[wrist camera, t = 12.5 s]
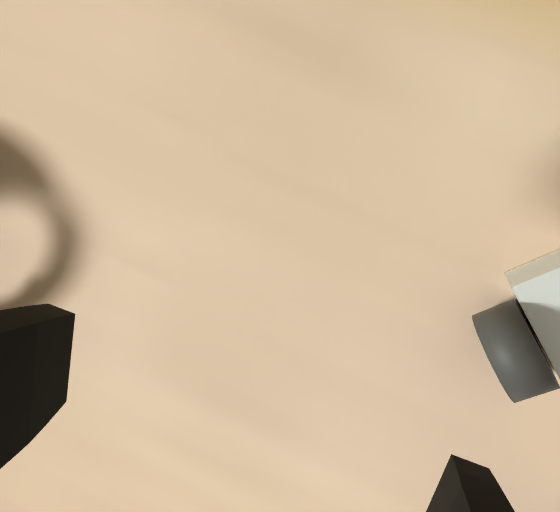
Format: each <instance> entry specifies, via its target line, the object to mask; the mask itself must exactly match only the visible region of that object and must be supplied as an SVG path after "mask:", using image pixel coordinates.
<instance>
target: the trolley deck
mask: <svg viewBox="0 0 560 512" xmlns="http://www.w3.org/2000/svg"><path fill="white" fill-rule="evenodd" d="M505 275H506V277H507V279H508V281H509V284H510V286H511V288H512V290H513V292H514V293H515V295H516V297H517V299H518V301H519V303H520V305H521V307H522V309H523V310H524V312H525V314H526V316H527V318H528V320H529V322H530V324H531V326H532V327H533V329H534V331H535V333H536V335H537V337H538V339H539V341H540V343H541V344H542V346H543V348H544V350H545V352H546V354H547V356H548V358H549V360H550V361H551V363H552V365H553V367H554V369H555V371H556V373H557V375H558V377H559V379H560V249H559V250H557V251H554V252H552V253H550V254H547V255H545V256H543V257H540V258H538V259H535V260H533V261H531V262H528V263H526V264H524V265H521V266H519V267H517V268H514V269H512V270H510V271H507V272H505ZM472 319H473V323H474V326H475V329H476V332H477V334H478V337H479V339H480V341H481V344H482V346H483V348H484V351H485V353H486V355H487V357H488V359H489V361H490V363H491V365H492V367H493V369H494V371H495V373H496V375H497V377H498V379H499V381H500V383H501V384H502V386H503V388H504V390H505V391H506V393H507V394H508V396H509V397H510V399H511V400H512V401H513V402H514V403H516V402H519V401H522V400H525V399H528V398H531V397H534V396H537V395H540V394H544V393H547V392H550V391H553V390H556V389H559V388H560V386H559V384H558V382H557V380H556V378H555V376H554V374H553V372H552V370H551V368H550V366H549V364H548V362H547V360H546V358H545V356H544V354H543V352H542V350H541V348H540V346H539V344H538V342H537V340H536V338H535V336H534V334H533V332H532V331H531V329H530V327H529V325H528V323H527V321H526V319H525V317H524V315H523V314H522V312H521V310H520V308H519V306H518V304H517V303H516V301H515V299H512V300H510V301H507V302H505V303H502V304H500V305H497V306H495V307H492V308H490V309H487V310H485V311H483V312H480V313H478V314H475V315H473V316H472Z"/></svg>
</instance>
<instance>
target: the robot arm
mask: <svg viewBox="0 0 560 512" xmlns="http://www.w3.org/2000/svg"><path fill="white" fill-rule="evenodd" d="M74 320H75V314H74V313H71V312H69V311H66V310H63V309H61V308H58V307H55V306H53V305H50V304H41V305H31V306H24V307H18V308H12V309H6V310H0V469H1V468H2V467H3V466H4V465H5V464H6V463H7V462H9V461H10V460H11V459H12V458H13V457H14V456H15V455H16V454H18V453H19V452H20V451H21V450H22V449H23V448H24V447H25V446H26V445H28V444H29V443H30V442H31V440H32V439H33V438H34V437H35V436H36V435H37V434H38V433H39V432H40V431H41V430H42V429H43V428H44V426H45V425H46V424H47V423H48V422H49V421H50V420H51V419H52V417H53V416H54V415H55V414H56V413H57V412H58V410H59V409H60V408H61V407H62V406H63V405H64V404H65V402H66V399H67V389H68V379H69V369H70V359H71V349H72V340H73V330H74ZM426 512H515V511H514V510H513V508H512V506H511V505H510V503H509V501H508V499H507V498H506V496H505V494H504V492H503V491H502V489H501V487H500V486H499V484H498V482H497V481H496V479H495V477H494V476H493V474H492V473H491V471H490V469H489V468H486V467H484V466H481V465H478V464H476V463H473V462H470V461H468V460H465V459H462V458H460V457H457V456H454V455H452V454H451V456H450V459H449V461H448V463H447V466H446V468H445V470H444V472H443V475H442V477H441V479H440V481H439V484H438V486H437V488H436V491H435V493H434V495H433V497H432V500H431V502H430V504H429V506H428V509H427V511H426Z"/></svg>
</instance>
